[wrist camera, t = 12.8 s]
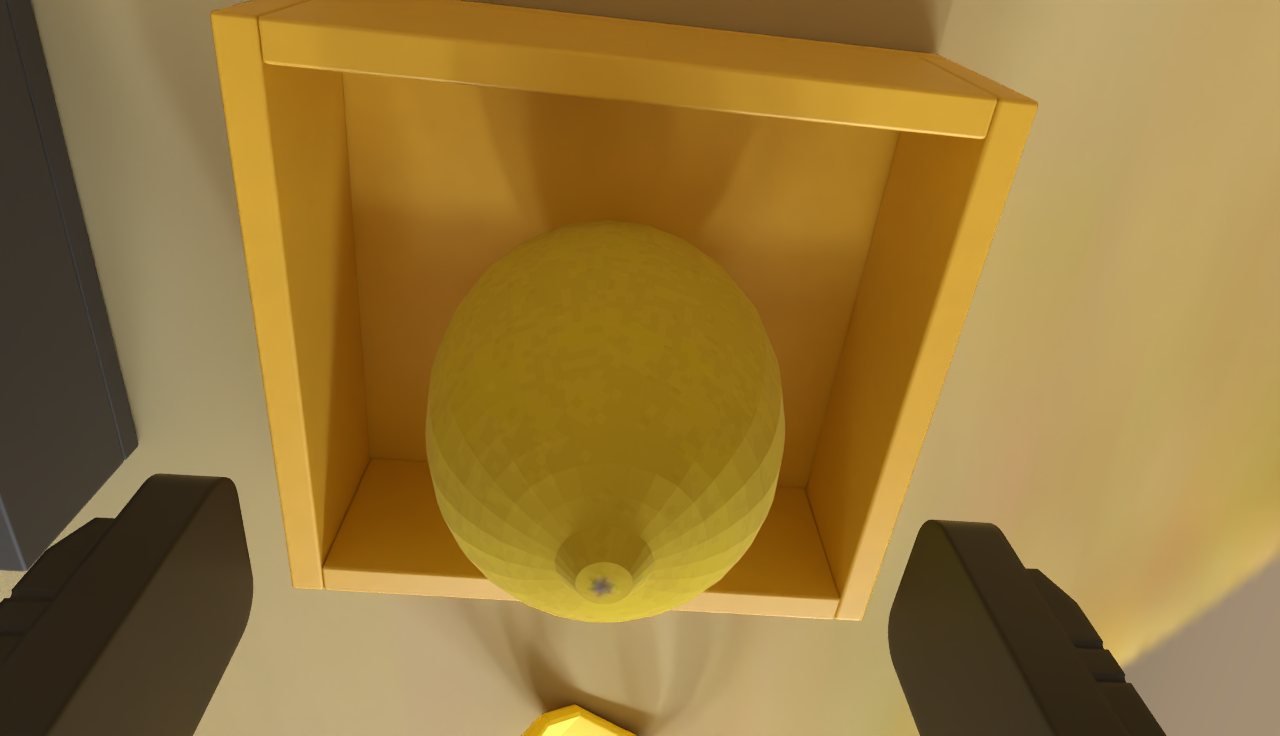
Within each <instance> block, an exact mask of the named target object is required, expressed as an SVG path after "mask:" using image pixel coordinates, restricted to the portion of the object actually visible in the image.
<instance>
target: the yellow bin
mask: <svg viewBox="0 0 1280 736" xmlns="http://www.w3.org/2000/svg"><path fill="white" fill-rule="evenodd" d="M210 17H211V24H212V31H213V38H214V45H215V52H216V59H217V65H218V72H219V79H220V86H221V93H222V100H223V107H224V114H225V121H226V128H227V135H228V142H229V149H230V156H231V163H232V169H233V176H234V183H235V190H236V197H237V204H238V211H239V218H240V225H241V232H242V239H243V246H244V253H245V260H246V267H247V273H248V280H249V287H250V294H251V301H252V308H253V315H254V322H255V329H256V336H257V343H258V350H259V357H260V364H261V370H262V377H263V384H264V391H265V398H266V405H267V412H268V419H269V426H270V433H271V440H272V447H273V454H274V461H275V468H276V474H277V481H278V488H279V495H280V502H281V509H282V516H283V523H284V530H285V537H286V544H287V551H288V558H289V565H290V572H291V578H292V585H293V587H294V588H308V589H323V588H324V586H325V589H326V590H340V591H357V592H374V593H391V594H408V595H426V596H443V597H460V598H477V599H494V600H511V601H520V600H518V599H516V598H515V597H513V596H512V595H510V594H508V593H507V592H505V591H504V590H502V589H501V588H499V587H498V586H496V585H495V584H493V583H492V582H491V581H490V580H489V579H488V578H487V577H486V576H485V575H484V574H483V573H482V572H481V571H480V570H479V569H478V568H477V567H476V566H475V565H474V564H473V563H472V562H471V561H470V560H469V559H468V558H467V556H466V555H465V554H464V552H463V551H462V549H461V548H460V547H459V545H458V543H457V541H456V540H455V538H454V536H453V534H452V532H451V531H450V529H449V527H448V525H447V523H446V522H445V520H444V518H443V516H442V514H441V511H440V508H439V506H438V503H437V499H436V495H435V490H434V486H433V481H432V477H431V472H430V468H429V463H428V457H427V452H426V438H425V432H426V415H427V404H428V394H429V383H430V376H431V370H432V366H433V363H434V359H435V356H436V354H437V352H438V349H439V347H440V345H441V342H442V340H443V337H444V335H445V333H446V330H447V328H448V326H449V323H450V321H451V319H452V316H453V314H454V312H455V310H456V309H457V307H458V306H459V304H460V303H461V301H462V300H463V299H464V298H465V296H466V295H467V294H468V293H469V291H470V290H471V289H472V288H473V286H474V285H475V284H476V283H477V282H478V280H479V279H480V278H481V277H482V275H483V274H484V273H485V272H486V270H487V269H488V268H489V267H490V266H491V265H492V264H494V263H495V262H496V261H498V260H499V259H501V258H502V257H504V256H505V255H506V254H508V253H509V252H511V251H512V250H514V249H515V248H516V247H518V246H519V245H521V244H522V243H523V242H525V241H526V240H528V239H530V238H532V237H535V236H538V235H540V234H543V233H546V232H548V231H551V230H554V229H556V228H559V227H562V226H564V225H567V224H574V223H583V222H591V221H600V220H615V221H622V222H630V223H638V224H646V225H649V226H652V227H654V228H657V229H660V230H662V231H665V232H667V233H670V234H672V235H675V236H677V237H680V238H682V239H684V240H686V241H688V242H689V243H690V244H692V245H693V246H695V247H696V248H697V249H699V250H700V251H702V252H703V253H705V254H706V255H707V256H709V257H710V258H712V259H713V260H714V261H716V262H717V263H719V264H720V265H721V266H722V267H723V268H724V269H725V270H726V271H727V273H728V274H729V275H730V276H731V277H732V279H733V280H734V281H735V282H736V284H737V285H738V286H739V287H740V289H741V290H742V291H743V292H744V293H745V295H746V296H747V297H748V298H749V300H750V301H751V302H752V304H753V305H754V307H755V308H756V310H757V312H758V314H759V317H760V319H761V321H762V324H763V326H764V329H765V331H766V333H767V336H768V338H769V341H770V343H771V345H772V348H773V350H774V353H775V355H776V358H777V361H778V365H779V369H780V377H781V387H782V396H783V406H784V416H785V442H784V451H783V456H782V461H781V466H780V471H779V476H778V481H777V486H776V490H775V495H774V500H773V502H772V505H771V507H770V510H769V512H768V515H767V517H766V518H765V520H764V522H763V524H762V526H761V528H760V530H759V531H758V533H757V535H756V537H755V539H754V541H753V542H752V544H751V546H750V547H749V548H748V550H747V551H746V552H745V554H744V555H743V556H742V557H741V558H740V559H739V561H738V562H737V563H736V564H735V565H734V566H733V567H732V568H731V569H730V570H729V571H728V572H727V573H726V574H725V575H724V577H723V578H722V579H721V580H719V581H718V582H716V583H715V584H714V585H712V586H711V587H709V588H708V589H706V590H705V591H703V592H702V593H700V594H699V595H697V596H696V597H694V598H693V599H691V600H690V601H688V602H687V603H685V604H683V605H680V606H678V607H675V608H673V609H670V610H681V611H698V612H715V613H732V614H750V615H767V616H784V617H801V618H818V619H833V618H834V617H835V618H836V619H842V620H859V621H860V620H862V619H863V617H864V614H865V611H866V608H867V605H868V602H869V600H870V597H871V594H872V591H873V588H874V585H875V582H876V579H877V576H878V573H879V570H880V567H881V564H882V562H883V559H884V556H885V553H886V550H887V547H888V544H889V541H890V538H891V535H892V532H893V529H894V526H895V523H896V521H897V518H898V515H899V512H900V509H901V506H902V503H903V500H904V497H905V494H906V491H907V488H908V485H909V483H910V480H911V477H912V474H913V471H914V468H915V465H916V462H917V459H918V456H919V453H920V450H921V447H922V444H923V442H924V439H925V436H926V433H927V430H928V427H929V424H930V421H931V418H932V415H933V412H934V409H935V406H936V404H937V401H938V398H939V395H940V392H941V389H942V386H943V383H944V380H945V377H946V374H947V371H948V368H949V366H950V363H951V360H952V357H953V354H954V351H955V348H956V345H957V342H958V339H959V336H960V333H961V330H962V327H963V325H964V322H965V319H966V316H967V313H968V310H969V307H970V304H971V301H972V298H973V295H974V292H975V289H976V287H977V284H978V281H979V278H980V275H981V272H982V269H983V266H984V263H985V260H986V257H987V254H988V251H989V248H990V246H991V243H992V240H993V237H994V234H995V231H996V228H997V225H998V222H999V219H1000V216H1001V213H1002V210H1003V208H1004V205H1005V202H1006V199H1007V196H1008V193H1009V190H1010V187H1011V184H1012V181H1013V178H1014V175H1015V172H1016V169H1017V167H1018V164H1019V161H1020V158H1021V155H1022V152H1023V149H1024V146H1025V143H1026V140H1027V137H1028V134H1029V131H1030V129H1031V126H1032V123H1033V120H1034V117H1035V114H1036V111H1037V108H1038V102H1036V101H1035V100H1033V99H1031V98H1029V97H1026V96H1024V95H1022V94H1020V93H1018V92H1016V91H1014V90H1012V89H1010V88H1007V87H1005V86H1003V85H1001V84H999V83H997V82H995V81H993V80H991V79H988V78H986V77H984V76H982V75H980V74H978V73H976V72H974V71H972V70H969V69H967V68H965V67H963V66H961V65H959V64H957V63H955V62H952V61H950V60H948V59H946V58H944V57H942V56H940V55H938V54H930V53H921V52H913V51H904V50H895V49H886V48H877V47H868V46H859V45H851V44H842V43H833V42H824V41H815V40H806V39H797V38H789V37H780V36H771V35H762V34H753V33H744V32H735V31H727V30H718V29H709V28H700V27H691V26H682V25H673V24H665V23H656V22H647V21H638V20H629V19H620V18H612V17H603V16H594V15H585V14H576V13H567V12H558V11H550V10H541V9H532V8H523V7H514V6H505V5H496V4H488V3H479V2H470V1H461V0H252V1H248V2H245V3H241V4H237V5H233V6H230V7H226V8H222V9H218V10H215V11H212V12H211V14H210Z"/></svg>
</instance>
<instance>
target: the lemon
mask: <svg viewBox="0 0 1280 736" xmlns="http://www.w3.org/2000/svg"><path fill="white" fill-rule="evenodd" d="M425 438H426V452H427V457H428V463H429V468H430V472H431V477H432V481H433V486H434V490H435V495H436V499H437V503H438V506H439V508H440V511H441V514H442V516H443V518H444V520H445V522H446V523H447V525H448V527H449V529H450V531H451V532H452V534H453V536H454V538H455V540H456V541H457V543H458V545H459V547H460V548H461V549H462V551H463V552H464V554H465V555H466V556H467V558H468V559H469V560H470V561H471V562H472V563H473V564H474V565H475V566H476V567H477V568H478V569H479V570H480V571H481V572H482V573H483V574H484V575H485V576H486V577H487V578H488V579H489V580H490V581H491V582H492V583H493V584H495V585H496V586H498V587H499V588H501V589H502V590H504V591H505V592H507V593H508V594H510V595H512V596H513V597H515V598H516V599H518V600H520V601H521V602H523V603H524V604H526V605H528V606H531V607H533V608H536V609H539V610H541V611H544V612H547V613H549V614H552V615H555V616H557V617H563V618H569V619H575V620H580V621H586V622H624V621H629V620H634V619H639V618H645V617H650V616H655V615H657V614H660V613H663V612H665V611H668V610H670V609H673V608H675V607H678V606H680V605H683V604H685V603H687V602H688V601H690V600H691V599H693V598H694V597H696V596H697V595H699V594H700V593H702V592H703V591H705V590H706V589H708V588H709V587H711V586H712V585H714V584H715V583H716V582H718V581H719V580H721V579H722V578H723V577H724V575H725V574H726V573H727V572H728V571H729V570H730V569H731V568H732V567H733V566H734V565H735V564H736V563H737V562H738V561H739V559H740V558H741V557H742V556H743V555H744V554H745V552H746V551H747V550H748V548H749V547H750V546H751V544H752V542H753V541H754V539H755V537H756V535H757V533H758V531H759V530H760V528H761V526H762V524H763V522H764V520H765V518H766V517H767V515H768V512H769V510H770V507H771V505H772V502H773V500H774V495H775V490H776V486H777V481H778V476H779V471H780V466H781V461H782V456H783V451H784V442H785V416H784V406H783V396H782V387H781V377H780V369H779V365H778V361H777V358H776V355H775V353H774V350H773V348H772V345H771V343H770V341H769V338H768V336H767V333H766V331H765V329H764V326H763V324H762V321H761V319H760V317H759V314H758V312H757V310H756V308H755V307H754V305H753V304H752V302H751V301H750V300H749V298H748V297H747V296H746V295H745V293H744V292H743V291H742V290H741V289H740V287H739V286H738V285H737V284H736V282H735V281H734V280H733V279H732V277H731V276H730V275H729V274H728V273H727V271H726V270H725V269H724V268H723V267H722V266H721V265H720V264H719V263H717V262H716V261H714V260H713V259H712V258H710V257H709V256H707V255H706V254H705V253H703V252H702V251H700V250H699V249H697V248H696V247H695V246H693V245H692V244H690V243H689V242H688V241H686V240H684V239H682V238H680V237H677V236H675V235H672V234H670V233H667V232H665V231H662V230H660V229H657V228H654V227H652V226H649V225H646V224H638V223H630V222H622V221H615V220H600V221H591V222H583V223H574V224H567V225H564V226H562V227H559V228H556V229H554V230H551V231H548V232H546V233H543V234H540V235H538V236H535V237H532V238H530V239H528V240H526V241H525V242H523V243H522V244H521V245H519V246H518V247H516V248H515V249H514V250H512V251H511V252H509V253H508V254H506V255H505V256H504V257H502V258H501V259H499V260H498V261H496V262H495V263H494V264H492V265H491V266H490V267H489V268H488V269H487V270H486V272H485V273H484V274H483V275H482V277H481V278H480V279H479V280H478V282H477V283H476V284H475V285H474V286H473V288H472V289H471V290H470V291H469V293H468V294H467V295H466V296H465V298H464V299H463V300H462V301H461V303H460V304H459V306H458V307H457V309H456V310H455V312H454V314H453V316H452V319H451V321H450V323H449V326H448V328H447V330H446V333H445V335H444V337H443V340H442V342H441V345H440V347H439V349H438V352H437V354H436V356H435V359H434V363H433V366H432V370H431V376H430V383H429V394H428V404H427V415H426V432H425Z"/></svg>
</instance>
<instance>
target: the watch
mask: <svg viewBox="0 0 1280 736" xmlns="http://www.w3.org/2000/svg"><path fill="white" fill-rule="evenodd" d="M521 736H637V735H635V734H633V733H631V732H629V731H626V730H624V729H622V728H620V727H618V726H616V725H614V724H612V723H610V722H608V721H606V720H604V719H602V718H600V717H598V716H596V715H594V714H592V713H591V712H589V711H587V710H585V709H583V708H581V707H579V706H578V705H575V704H574V705H570V706H567V707H564V708H560V709H557V710H554V711H551V712H547V713H544V714H543V715H542V716H541V717H538V718H537V719H536V720H535V721H534V723H533V724H532V725H531V726H530V727H529V728H528V729H527V730H526V731H525V732H524V733H523V734H522V735H521Z"/></svg>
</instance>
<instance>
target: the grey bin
mask: <svg viewBox="0 0 1280 736" xmlns="http://www.w3.org/2000/svg"><path fill="white" fill-rule="evenodd" d="M137 447H138V440H137V436H136V432H135V428H134V424H133V420H132V416H131V412H130V408H129V404H128V399H127V395H126V391H125V387H124V383H123V379H122V375H121V371H120V367H119V363H118V358H117V354H116V350H115V346H114V342H113V338H112V334H111V330H110V326H109V322H108V318H107V313H106V309H105V305H104V301H103V297H102V293H101V289H100V285H99V281H98V277H97V272H96V268H95V264H94V260H93V256H92V252H91V248H90V244H89V240H88V236H87V232H86V227H85V223H84V219H83V215H82V211H81V207H80V203H79V199H78V195H77V191H76V186H75V182H74V178H73V174H72V170H71V166H70V162H69V158H68V154H67V150H66V146H65V141H64V137H63V133H62V129H61V125H60V121H59V117H58V113H57V109H56V105H55V100H54V96H53V92H52V88H51V84H50V80H49V76H48V72H47V68H46V64H45V60H44V55H43V51H42V47H41V43H40V39H39V35H38V31H37V27H36V23H35V19H34V14H33V10H32V6H31V2H30V0H0V570H7V571H27V570H28V569H29V568H30V567H31V566H32V565H33V564H34V563H35V561H36V560H37V559H38V558H39V557H40V556H41V555H42V554H43V552H44V551H45V550H46V549H47V548H48V547H49V546H50V544H51V543H52V542H53V541H54V540H55V539H56V538H57V537H58V535H59V534H60V533H61V532H62V531H63V530H64V529H65V528H66V526H67V525H68V524H69V523H70V522H71V521H72V520H73V518H74V517H75V516H76V515H77V514H78V513H79V512H80V511H81V509H82V508H83V507H84V506H85V505H86V504H87V503H88V501H89V500H90V499H91V498H92V497H93V496H94V495H95V494H96V492H97V491H98V490H99V489H100V488H101V487H102V486H103V484H104V483H105V482H106V481H107V480H108V479H109V478H110V477H111V475H112V474H113V473H114V472H115V471H116V470H117V469H118V467H119V466H120V465H121V464H122V463H123V461H124V460H126V459H127V458H128V457H129V456H130V455H131V453H132V452H133V451H134V450H135V449H136V448H137Z"/></svg>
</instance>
